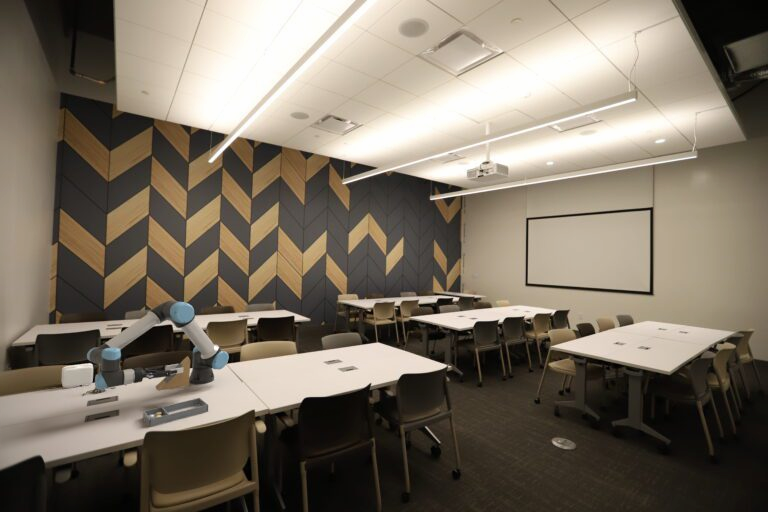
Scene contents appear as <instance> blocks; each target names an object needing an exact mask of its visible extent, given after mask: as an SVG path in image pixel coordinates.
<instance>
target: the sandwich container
mask: <svg viewBox="0 0 768 512" xmlns="http://www.w3.org/2000/svg"><path fill="white" fill-rule="evenodd" d="M182 367H183V373H178V374H172V375H170V377H169V376H167V377H163V379H162V380H161V381H160V382H158V384H156V386H155V389H156V390H157V392H158V391H159V392H160V391H166V390H173V389H178V388H183V387H185V388H186V387H189V386H190V383H189V377H190V374H191V359H190V358H189V356H188V355H187V356H186V357H185V358H184V359H182V360H181V362H180V363H178V366H177V367H176V368H182ZM176 368H175V369H176Z"/></svg>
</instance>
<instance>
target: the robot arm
mask: <svg viewBox="0 0 768 512" xmlns="http://www.w3.org/2000/svg"><path fill="white" fill-rule="evenodd" d="M165 321H168V322H169V321H170V322H172V324H173V325H174V326H175V327H176V328H177V329H181V330H182V331H183V333H184V335H186V337H187V338H188V339H189V341H191V342H192V344H193V345H194V346H195V347H194V348H193V350H192V369H191V371H190V375H189V384H193V385H202V384H208V383H211V382H213V381H214V380H215V374H214V371H213V370H222V369H223V368H225V367H226V366H227V364H228V361H229V357H230V356H229V353H228V352H227V351H225V350H222V348H221V347H220V346H219V345H218V344H214V343H213V341H212V340H211V338H209V336H208V335H207V333H206V332H205V331H204V329H203V328H202V327H201V326H200V325H199V323H198V321H196V315H195V309H194V307H193V305H191V304H190V303H187V302H184V301H176V300H166V301H163V302H161V303H159V304H158V305H156V306H155V307H153V308H152V309H150V310H148V311H147V314H146V315H144V316H143V317H141V318H140V319H139V320H137V321H135V322H134V323H133V324H131V325H130V326H128V327H127V328H125V329H124V330H122V331H121V332H119V333H118V334H117V335H115V336H114V337H112V338H110V339H109V340H108V341H106V342H105V343H103V344H102V345H100V346H96V347H92V348H91V349H89V351H88V352H87V354H86V358H87V360H88V361H89V362H91V363H93V364H97V365H99V366H101V367H100V368H101V370H100V372H101V373H99V372H98V373H97V374H95V377H94V388H95V387H96V389H103V388H113V387H120V386H127V385H130V384H131V385H132V384H138V383H142V382H143V379H145V378H146V379H148V380H152V379H157V378H159V379H160V378H165V377H167V376H169V377H170V375H172V374H178V373H183V367H182V368H176V367H177V366H178V365H179V363H175V364H170V365H168V364H167V365H166V364H162V365H157V366H152V367H145V368H142V367H136V368H133V369H132V368H127V369H120V366H121V358H122V357H121V356H122V354H121V353H122V352H121V350H122V349H124V348H125V347H126V346H127V345H129V344H130V343H132V342H134V340H136V339H137V338H139V337H140V336H142V335H144V334H145V333H146V332H148V331H149V330H150V329H152V328H153V327H154V326H156V325H160V324H161V323H164V322H165ZM175 368H176V369H175Z"/></svg>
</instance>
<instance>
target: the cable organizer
mask: <svg viewBox="0 0 768 512" xmlns="http://www.w3.org/2000/svg"><path fill="white" fill-rule="evenodd" d="M93 379H94V366H93V364H92V363H90V362H89V363H81V364H74V365H73V364H72V365H66V366H64V367H62V368H61V384H62V386H61V387H63V388H65V389H66V388H67V389H72V388H75V387H80V386H79V385H82V386H81V387H86V386H87V385H86V384H88V385H91V384H92V383H93Z"/></svg>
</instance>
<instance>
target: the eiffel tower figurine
mask: <svg viewBox="0 0 768 512" xmlns="http://www.w3.org/2000/svg"><path fill="white" fill-rule="evenodd" d="M99 373H101V371H99V372H98V374H99ZM116 387H117V386H115V387H110V388H103V389H96V387H95V386H94V389H91V390H87V391H85V393H82V395H81V397H84V396H85V395H86V394H90V393H91V394H95V395H98V394H102V393H104V392H105V393H106V392H107V390H106V389H112V390H114V389H116Z"/></svg>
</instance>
